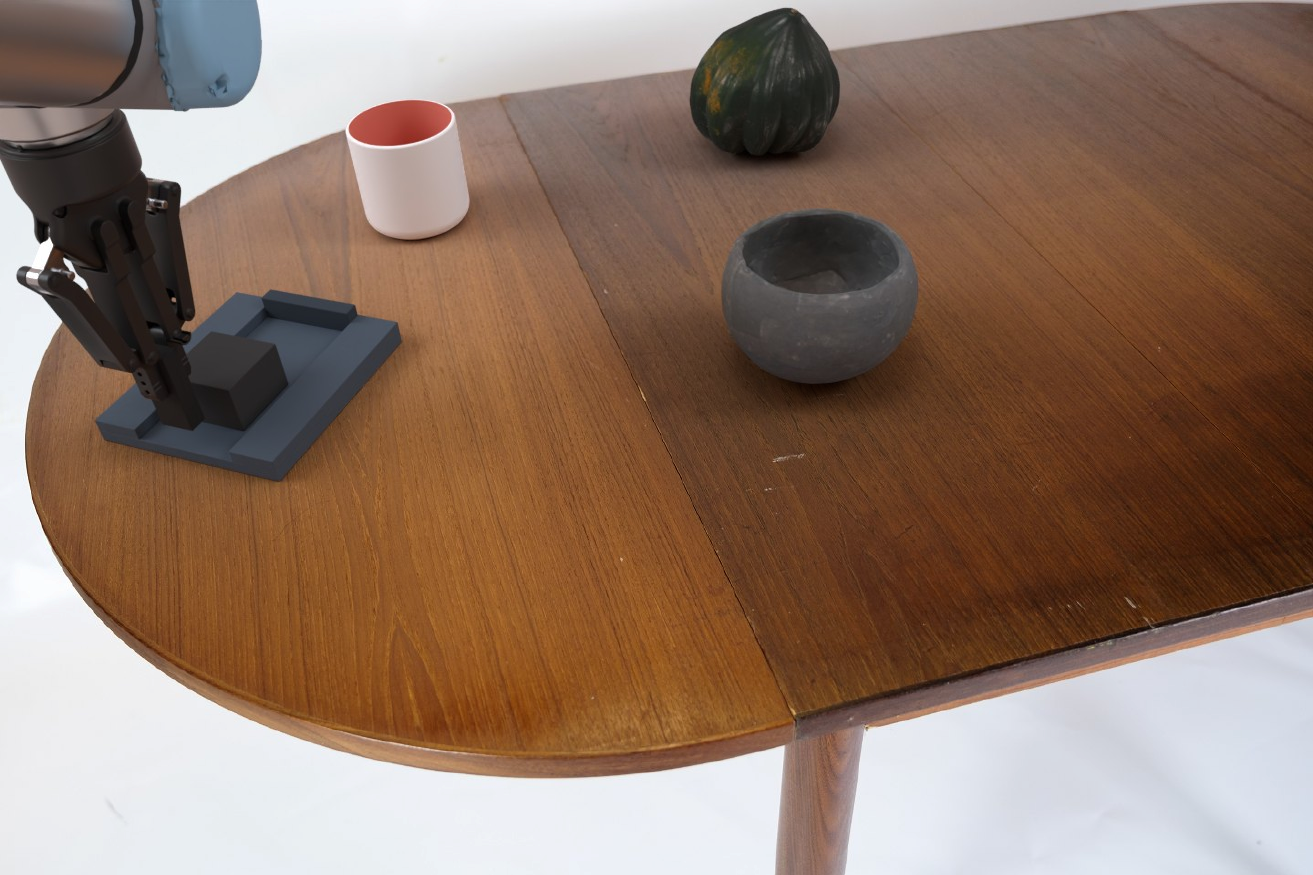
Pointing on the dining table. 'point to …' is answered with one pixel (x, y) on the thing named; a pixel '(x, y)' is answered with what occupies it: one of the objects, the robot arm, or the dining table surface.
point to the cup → (409, 168)
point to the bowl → (819, 294)
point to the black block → (235, 378)
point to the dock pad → (319, 386)
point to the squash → (766, 86)
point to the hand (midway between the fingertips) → (183, 421)
